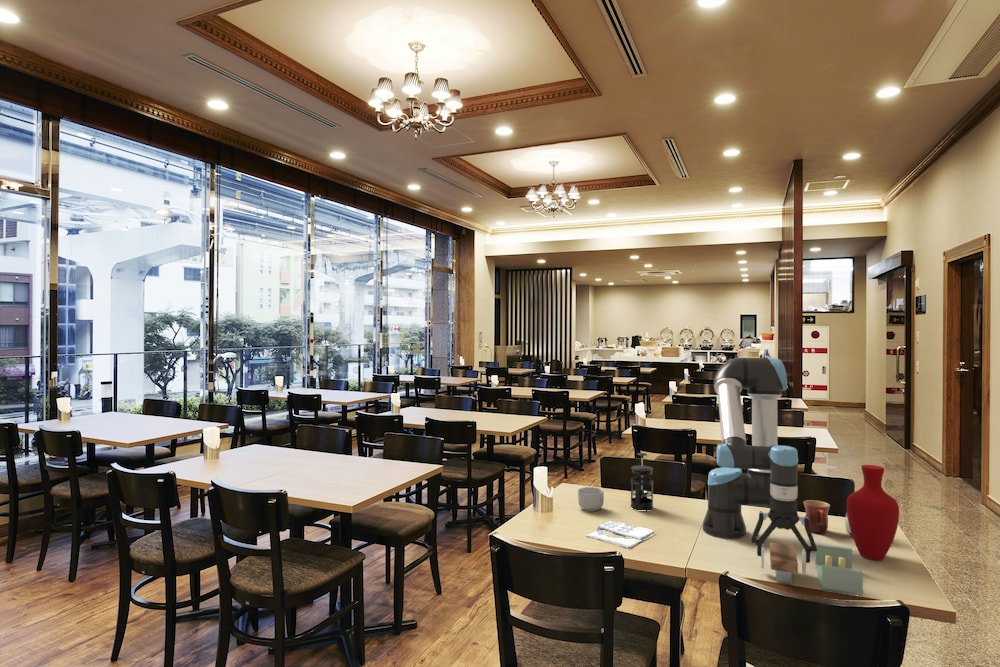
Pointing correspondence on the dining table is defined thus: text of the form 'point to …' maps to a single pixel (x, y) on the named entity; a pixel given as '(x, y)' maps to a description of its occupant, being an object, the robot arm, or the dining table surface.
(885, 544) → the vase
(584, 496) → the teacup
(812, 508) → the mug
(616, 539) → the folded cloth napkin
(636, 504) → the french press
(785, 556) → the board
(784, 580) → the block
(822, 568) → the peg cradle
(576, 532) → the dining table surface
